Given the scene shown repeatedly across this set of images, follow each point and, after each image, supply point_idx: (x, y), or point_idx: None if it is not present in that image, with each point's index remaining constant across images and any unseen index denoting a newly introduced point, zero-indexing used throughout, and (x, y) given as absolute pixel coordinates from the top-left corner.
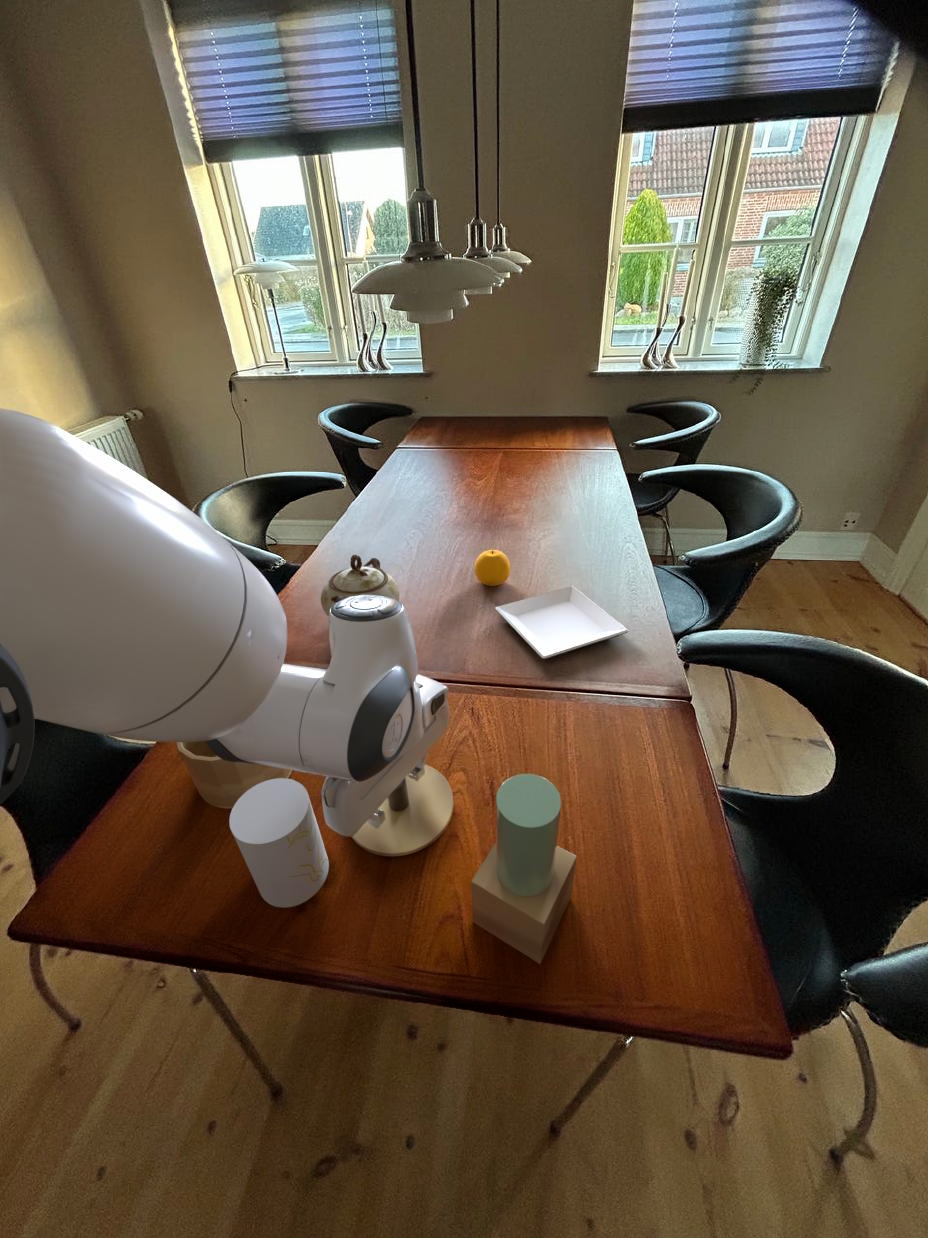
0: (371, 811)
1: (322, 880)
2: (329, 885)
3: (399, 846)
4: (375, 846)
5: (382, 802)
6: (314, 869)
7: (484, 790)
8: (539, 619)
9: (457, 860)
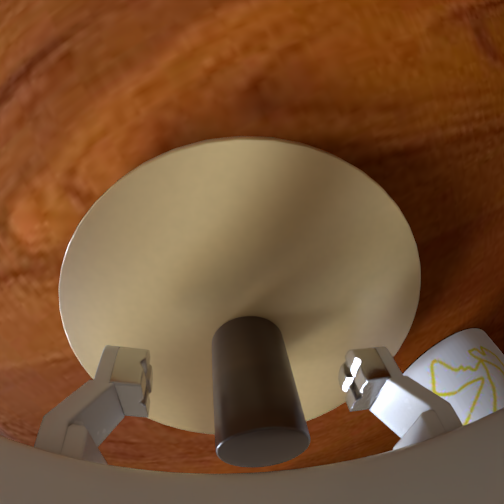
0: (498, 438)
1: (465, 338)
2: (462, 321)
3: (397, 254)
4: (407, 311)
5: (445, 443)
6: (500, 372)
7: (23, 107)
8: None
9: (346, 47)
